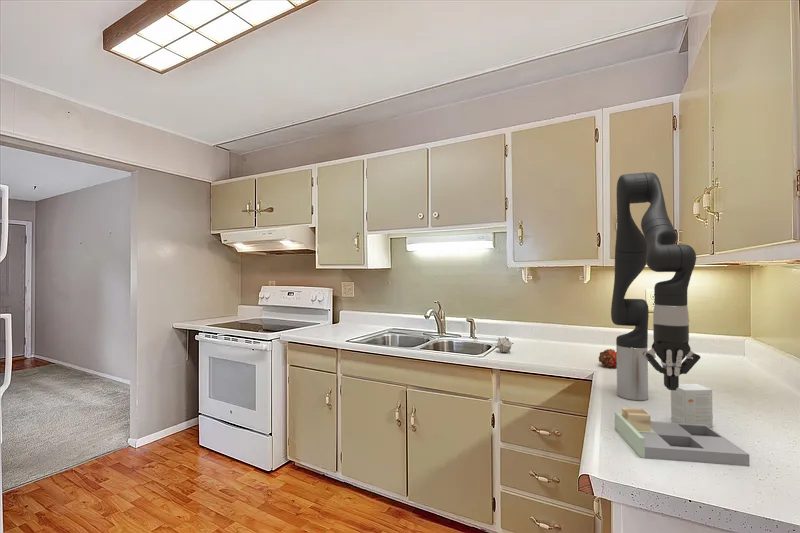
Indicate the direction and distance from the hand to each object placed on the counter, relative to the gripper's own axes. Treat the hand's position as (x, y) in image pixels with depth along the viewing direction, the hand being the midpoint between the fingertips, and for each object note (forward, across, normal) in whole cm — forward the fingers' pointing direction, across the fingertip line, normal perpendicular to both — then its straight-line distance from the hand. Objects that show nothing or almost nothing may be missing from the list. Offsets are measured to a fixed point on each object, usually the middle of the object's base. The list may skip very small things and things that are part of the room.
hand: (671, 389), depth 102 cm
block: (+10, +9, +1) cm, 13 cm away
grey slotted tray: (+12, +1, +4) cm, 13 cm away
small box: (+13, -10, -11) cm, 20 cm away
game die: (+15, +35, -100) cm, 107 cm away
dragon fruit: (+14, -9, -77) cm, 79 cm away
